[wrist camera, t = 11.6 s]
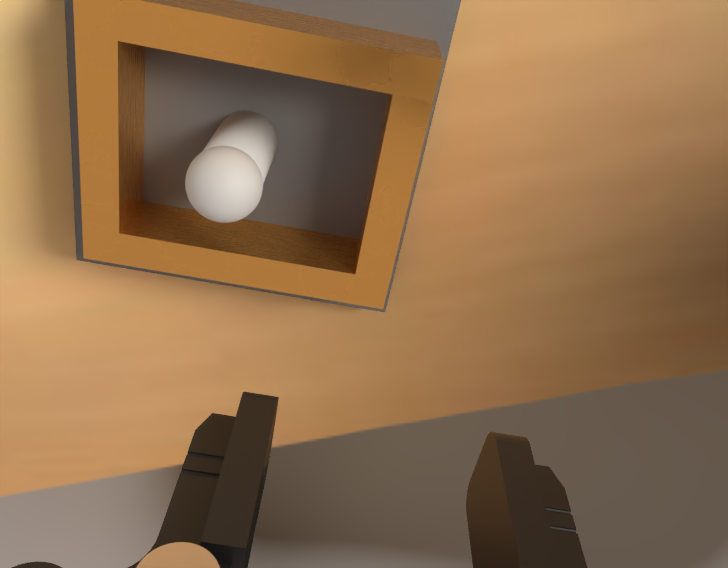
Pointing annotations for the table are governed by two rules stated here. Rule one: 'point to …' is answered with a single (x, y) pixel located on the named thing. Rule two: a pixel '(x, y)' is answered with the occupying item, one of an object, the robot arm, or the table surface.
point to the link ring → (243, 237)
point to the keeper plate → (295, 107)
